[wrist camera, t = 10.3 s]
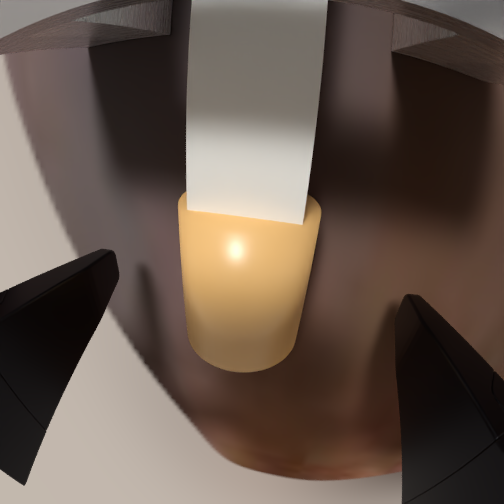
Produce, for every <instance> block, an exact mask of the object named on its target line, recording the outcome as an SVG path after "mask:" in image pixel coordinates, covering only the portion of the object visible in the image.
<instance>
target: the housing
mask: <svg viewBox="0 0 504 504" xmlns="http://www.w3.org/2000/svg"><path fill="white" fill-rule="evenodd" d="M330 1H337V2H343V3H349V4H355V5H360V6H365V7H370V8H374V9H379V10H383V11H387V12H391V13H394V22H393V37H392V49H391V51H393V52H397V53H400V54H404V55H408V56H412V57H415V58H419V59H422V60H425V61H429V62H432V63H435V64H438V65H441V66H444V67H447V68H450V69H453V70H455V71H458V72H461V73H463V74H466V75H469V76H471V77H474V78H476V79H479V80H481V81H484V82H489V83H495V84H501V85H504V0H330ZM172 3H173V0H0V55H2V54H9V53H16V52H25V51H34V50H46V49H61V48H88V47H93V46H97V45H102V44H107V43H113V42H118V41H124V40H131V39H138V38H145V37H153V36H162V35H170V33H171V17H172Z"/></svg>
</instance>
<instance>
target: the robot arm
mask: <svg viewBox="0 0 504 504" xmlns="http://www.w3.org/2000/svg"><path fill="white" fill-rule="evenodd" d="M118 280H119V269H118V265H117V259H116V255H115V253H114V251H112V250H107V249H100V250H97V251H95V252H92V253H90V254H88V255H85V256H83V257H80V258H78V259H75V260H73V261H71V262H68V263H66V264H64V265H61V266H59V267H57V268H54V269H52V270H50V271H47V272H45V273H43V274H40V275H38V276H36V277H34V278H31V279H29V280H27V281H25V282H22V283H20V284H18V285H16V286H14V287H12V288H9V290H5V291H3V292H1V293H0V470H2V471H3V472H5V473H6V474H7V475H9V476H10V477H12V478H13V479H15V480H16V481H17V482H19V483H21V484H22V485H25V484H26V482H27V479H28V476H29V474H30V471H31V468H32V466H33V463H34V461H35V458H36V455H37V452H38V450H39V448H40V445H41V443H42V440H43V438H44V436H45V433H46V430H47V428H48V426H49V424H50V421H51V419H52V417H53V415H54V412H55V410H56V408H57V406H58V404H59V401H60V399H61V397H62V395H63V393H64V391H65V389H66V387H67V385H68V382H69V380H70V378H71V376H72V374H73V372H74V370H75V368H76V366H77V364H78V362H79V360H80V358H81V356H82V354H83V352H84V351H85V349H86V347H87V345H88V343H89V341H90V339H91V337H92V336H93V334H94V332H95V330H96V328H97V326H98V324H99V322H100V320H101V318H102V316H103V314H104V312H105V310H106V307H107V305H108V303H109V300H110V298H111V296H112V294H113V291H114V289H115V287H116V285H117V282H118ZM395 363H396V378H397V388H398V399H399V411H400V426H401V445H402V504H504V380H503V379H502V378H501V377H500V376H499V375H498V374H497V373H496V372H495V371H494V370H493V368H492V367H491V366H490V365H489V364H488V363H487V362H486V361H485V360H484V359H483V358H482V357H481V356H480V355H479V353H478V352H477V351H476V350H475V349H474V348H473V347H472V346H471V345H470V344H469V343H468V342H467V341H466V340H465V339H464V338H463V337H462V336H461V335H460V334H459V333H458V332H457V331H456V330H455V329H454V328H453V327H452V326H451V325H450V324H449V323H448V322H447V321H446V320H445V319H444V318H443V317H442V316H441V315H440V314H439V313H438V312H437V311H436V310H434V309H433V308H432V307H431V306H430V305H429V304H428V303H427V302H426V301H425V300H424V299H423V298H422V297H421V296H419V295H414V294H406V295H405V296H404V298H403V300H402V303H401V305H400V307H399V310H398V312H397V314H396V317H395Z"/></svg>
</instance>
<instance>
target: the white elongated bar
mask: <svg viewBox="0 0 504 504" xmlns="http://www.w3.org/2000/svg"><path fill="white" fill-rule="evenodd" d="M327 3H328V0H192V6H191V19H190V34H189V52H188V75H187V111H186V185H187V191H186V192H185V193H184V194H183V195H182V196H181V197H180V199H179V202H178V214H179V234H180V251H181V266H182V279H183V292H184V303H185V314H186V324H187V334H188V339H189V342H190V344H191V346H192V348H193V350H194V351H195V352H196V353H197V354H198V355H199V356H200V357H201V358H202V359H203V360H205V361H206V362H208V363H209V364H211V365H213V366H215V367H218V368H220V369H224V370H228V371H233V372H255V371H261V370H264V369H267V368H270V367H272V366H274V365H276V364H278V363H279V362H281V361H282V360H283V359H285V358H286V357H287V356H288V354H289V353H290V352H291V350H292V349H293V347H294V344H295V341H296V336H297V332H298V328H299V323H300V319H301V314H302V310H303V305H304V300H305V296H306V291H307V286H308V281H309V277H310V272H311V267H312V261H313V256H314V251H315V246H316V241H317V235H318V230H319V224H320V219H321V208H320V206H319V204H318V203H317V201H316V200H315V199H314V198H312V197H311V196H310V195H308V194H307V191H308V184H309V177H310V170H311V162H312V155H313V147H314V139H315V130H316V122H317V113H318V104H319V95H320V86H321V76H322V65H323V54H324V43H325V31H326V18H327Z"/></svg>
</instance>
